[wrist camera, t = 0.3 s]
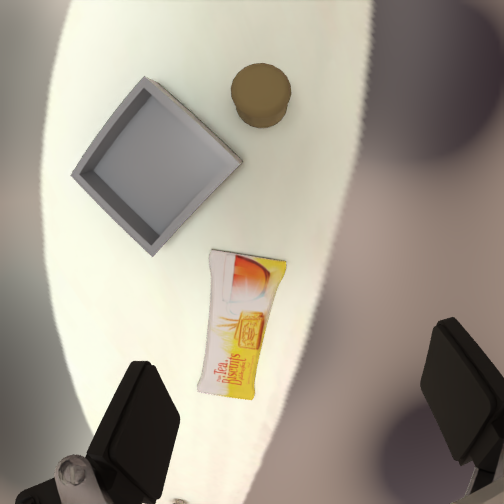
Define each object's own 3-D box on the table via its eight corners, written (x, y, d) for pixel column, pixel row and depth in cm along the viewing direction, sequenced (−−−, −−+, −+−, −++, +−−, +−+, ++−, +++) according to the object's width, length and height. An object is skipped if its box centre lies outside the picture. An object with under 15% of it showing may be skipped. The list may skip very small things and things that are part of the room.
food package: (252, 405, 47) (195, 396, 47) (253, 396, 49) (197, 387, 49) (288, 265, 37) (208, 252, 37) (286, 258, 39) (211, 245, 39)
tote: (157, 82, 31) (144, 76, 27) (243, 161, 34) (240, 164, 30) (88, 170, 35) (70, 175, 31) (163, 244, 38) (152, 257, 34)
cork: (297, 112, 32) (311, 100, 22) (252, 137, 33) (248, 135, 23) (270, 71, 30) (273, 43, 20) (226, 96, 31) (210, 77, 21)
